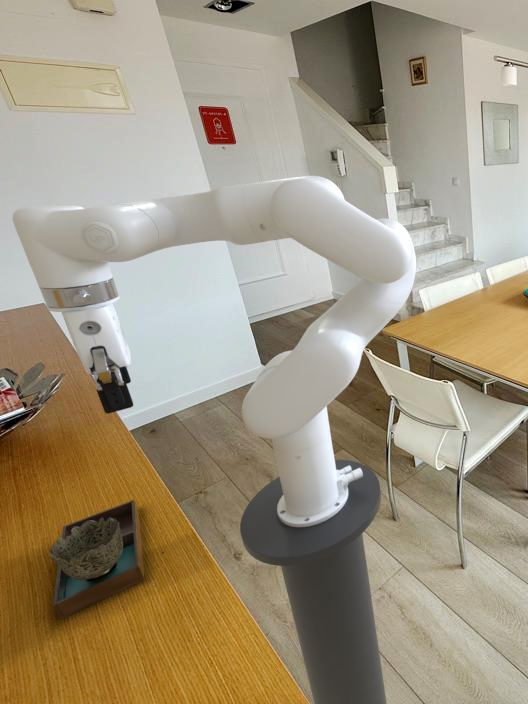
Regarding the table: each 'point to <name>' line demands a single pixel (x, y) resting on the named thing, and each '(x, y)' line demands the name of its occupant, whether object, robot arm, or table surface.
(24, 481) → the table surface
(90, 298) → the robot arm
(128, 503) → the tray
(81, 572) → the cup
